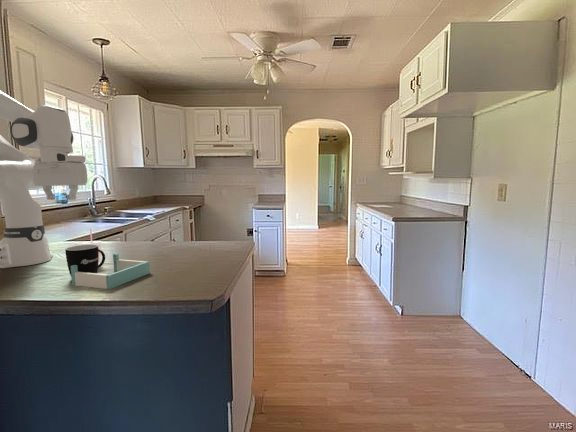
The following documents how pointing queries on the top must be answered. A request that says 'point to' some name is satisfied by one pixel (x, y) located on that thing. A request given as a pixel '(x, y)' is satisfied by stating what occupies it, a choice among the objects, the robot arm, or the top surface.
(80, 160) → the robot arm
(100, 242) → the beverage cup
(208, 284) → the top surface
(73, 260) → the mug
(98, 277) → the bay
